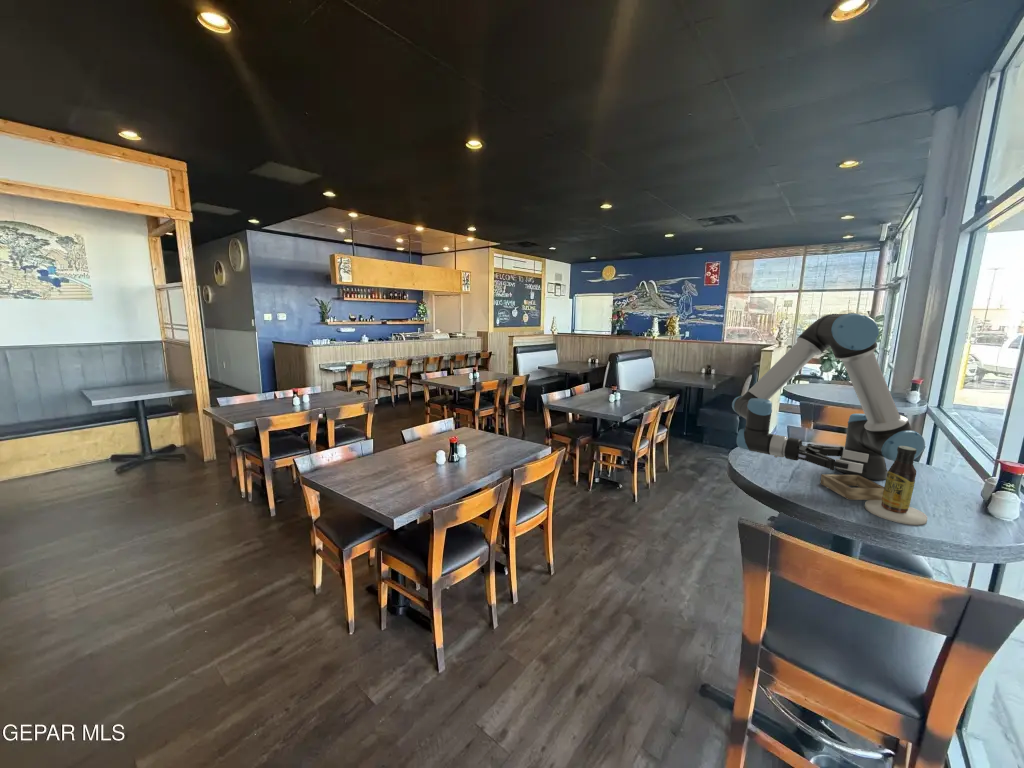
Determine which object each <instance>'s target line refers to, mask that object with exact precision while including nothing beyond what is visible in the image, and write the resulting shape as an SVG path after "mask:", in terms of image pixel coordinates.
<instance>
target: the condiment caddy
mask: <svg viewBox="0 0 1024 768" xmlns="http://www.w3.org/2000/svg"><path fill="white" fill-rule="evenodd" d="M819 482H820V485H822V486H824V487H826V488H827V489H830V490H831V491H833V492H834V493H835V494H836V493H837V494H838V495H839V496H842V497H843V498H845V499H847V500H851V501H852V500H856V501H858V500H860V501H861V500H862V501H863V500H865V501H868V500H882V497H883V491H884V486H883V485H880V484H879V483H876V482H874V481H873V480H871V479H866V478H864V477H862V476H860V475H848V474H833V473H832V474H831V473H830V474H825V473H823V474H821V476H820V481H819ZM851 486H853V487H851Z"/></svg>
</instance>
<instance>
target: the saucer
mask: <svg viewBox="0 0 1024 768" xmlns="http://www.w3.org/2000/svg"><path fill="white" fill-rule="evenodd" d="M881 504H882V500H865V503H864V508H865V510H866V511H868V512H869V513H870V514H872V515H874V516H876V517H878V518H881V519H884V520H887V521H889V522H890V521H891V522H894V523H898V524H902V525H903V524H904V525H910V526H923V525H926V524H927V522H928V516H927V514H925V513H924V512H922V511H921V510H919V509H917V508H914V507H912V506H909V509H908V511H907V512H906V513H896V512H893V511H890V510H887V509H885V508H884V507H883V506H882V505H881Z"/></svg>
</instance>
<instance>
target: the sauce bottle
mask: <svg viewBox="0 0 1024 768" xmlns="http://www.w3.org/2000/svg"><path fill="white" fill-rule="evenodd" d="M897 451H898V453H897V458H896V460H895V461H893V463H892V465H891V466H890V467H889V469H887V471H888V473H887V477H886V479H885V483H884V486H883V487H884V491H883V497H882V504H881V505H882V506H883V507H884V508H885V509H887V510H890V511H893V512H896V513H906V512H907V511H908V509H909V507H911V506H910V505H911V503H912V502H911V501H912V496H913V492H914V488H915V487H914V486H915V484H916V483H915V482H916V477H917V470H916V468H915V466H914V460H915V459H914V456H915V454H916V451H917V450H916V449H915V448H912V447H908V446H898V449H897Z"/></svg>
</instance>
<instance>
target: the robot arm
mask: <svg viewBox="0 0 1024 768" xmlns="http://www.w3.org/2000/svg"><path fill="white" fill-rule="evenodd" d="M879 334H880V329H879V326H878V324H877V322H876V320H875V319H873V318H871V317H870V316H868V315H866V314H860V313H854V312H850V313H830V314H827V315H824V316H822V317H820V318H818V319H816V320H815V321H814V322H813V323H811V324H810V325H809V326H808V327H807V328H806V329H805V330H804V331H803V332H802V333H801V334H800V335H799V336H798V337H797V338H796V343H795V344H794V345H793V346H791V348H790V349H789V350H788V351H787V352H786V353H785V354H783V356H781V358H780V359H779V360H778V361H777V362H775V364H774V365H773V366H772V367H771V368H770V369H769V370H767V372H766V373H765V374H764V375H762V377H761V378H759V379H758V380H757V382H756V383H754V385H752V386H751V388H749V389H748V390H747V391H746V392H745V393H744V394H743V395H739V396H736V397H735V398H734V399H733V401H732V402H731V407H732V410H733V411H734V412H735V413H736V414H737V415H738V416H739V417H742V418H743V419H745V427H744V428H740V429H739V430H738V432H737V436H736V445H737V447H738V448H740V449H742V450H746V451H749V452H755V453H760V454H765V455H768V456H769V455H770V456H773V457H774V458H784V457H785V459H787V460H792V461H798V460H801V461H805V462H808V463H811V464H814V465H817V466H820V467H823V468H826V469H828V470H830V471H834V470H835V469H836V470H838V471H839V472H840V473H842V474H844V475H860V476H862V477H864V478H866V479H868V480H871V481H874V480H876V481H879V480H880V481H881V480H886V477H887V473H888V468H887V463H886V460H885V459H887V460H889V461H893V462H895V460H896V458H897V453H898V451H897V449H898V446H908V447H912V448H915V449H916V450H917V451H916V454H915V456H914V460H916V459H917V458H919V457H920V456H921V454H922V452H924V451H925V447H926V441H925V439H924V437H923V436H922V434H920V433H919V432H917V431H915V430H913V429H912V426H911V424H910V422H909V419H908V418H907V416H904V415H901V414H899V411H898V409H897V405H896V402H895V401H894V398H893V396H892V394H891V391H890V389H889V386H888V384H887V381H886V378H885V377H884V375H883V372H882V369H881V366H880V365H879V361H878V359H877V357H876V355H875V353H874V352H875V351H876V350H877V348H878V344H877V343H878V342H877V339H878V337H879ZM829 348H831V351H832V354H833V357H834V358H835V359H837V360H840V361H842V363H843V366H844V368H845V370H846V373H847V375H848V378H849V380H850V383H851V385H852V387H853V390H854V392H855V395H856V396H857V399H858V401H859V404H860V405H861V408H862V411H863V413H852V414H850V415H849V418H848V421H847V430H846V434H845V435H846V436H845V442H844V444H845V445H844V446H832V445H823V444H821V445H820V444H812V443H807V445H803V441H802V439H801V438H796V437H788V436H785V435H779V434H773V433H770V425H771V419H772V412H773V403H772V401H771V400H770V399H771V398H772V397H773V396H774V395H775V394H776V393H777V392H779V390H781V389H782V388H783V387H784V386H785V385H786V384H787V383H788V382H789V381H790V380H791V379H792V378H794V376H795V375H796V374H797V373H798V372H800V370H802V368H804V367H805V366H806V365H807V364H808V363H809V362H810V361H811V359H813V358H814V357H815V356H819V355H822V353H824V352H825V351H826V350H827V349H829ZM832 457H839V458H836V459H834V458H832Z"/></svg>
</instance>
